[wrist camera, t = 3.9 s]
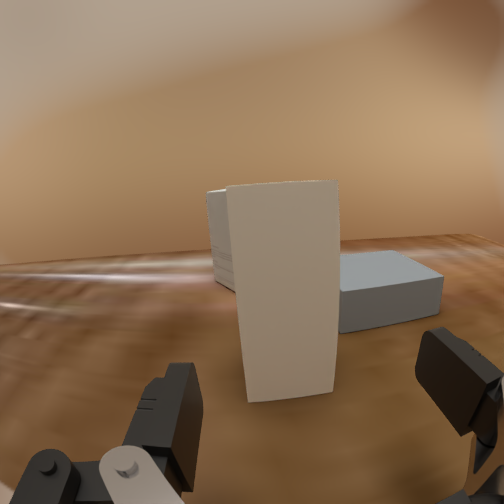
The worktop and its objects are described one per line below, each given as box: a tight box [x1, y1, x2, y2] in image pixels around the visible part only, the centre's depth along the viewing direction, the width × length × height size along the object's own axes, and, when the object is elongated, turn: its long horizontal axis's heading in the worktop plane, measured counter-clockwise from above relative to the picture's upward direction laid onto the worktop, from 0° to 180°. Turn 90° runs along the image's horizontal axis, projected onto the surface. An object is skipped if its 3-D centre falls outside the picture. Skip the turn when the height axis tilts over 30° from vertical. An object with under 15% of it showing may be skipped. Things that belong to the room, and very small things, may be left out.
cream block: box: [226, 180, 340, 403], centre depth 18 cm, size 6×6×13 cm
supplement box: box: [206, 189, 235, 291], centre depth 38 cm, size 7×7×13 cm
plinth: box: [338, 250, 444, 334], centre depth 29 cm, size 11×11×4 cm
